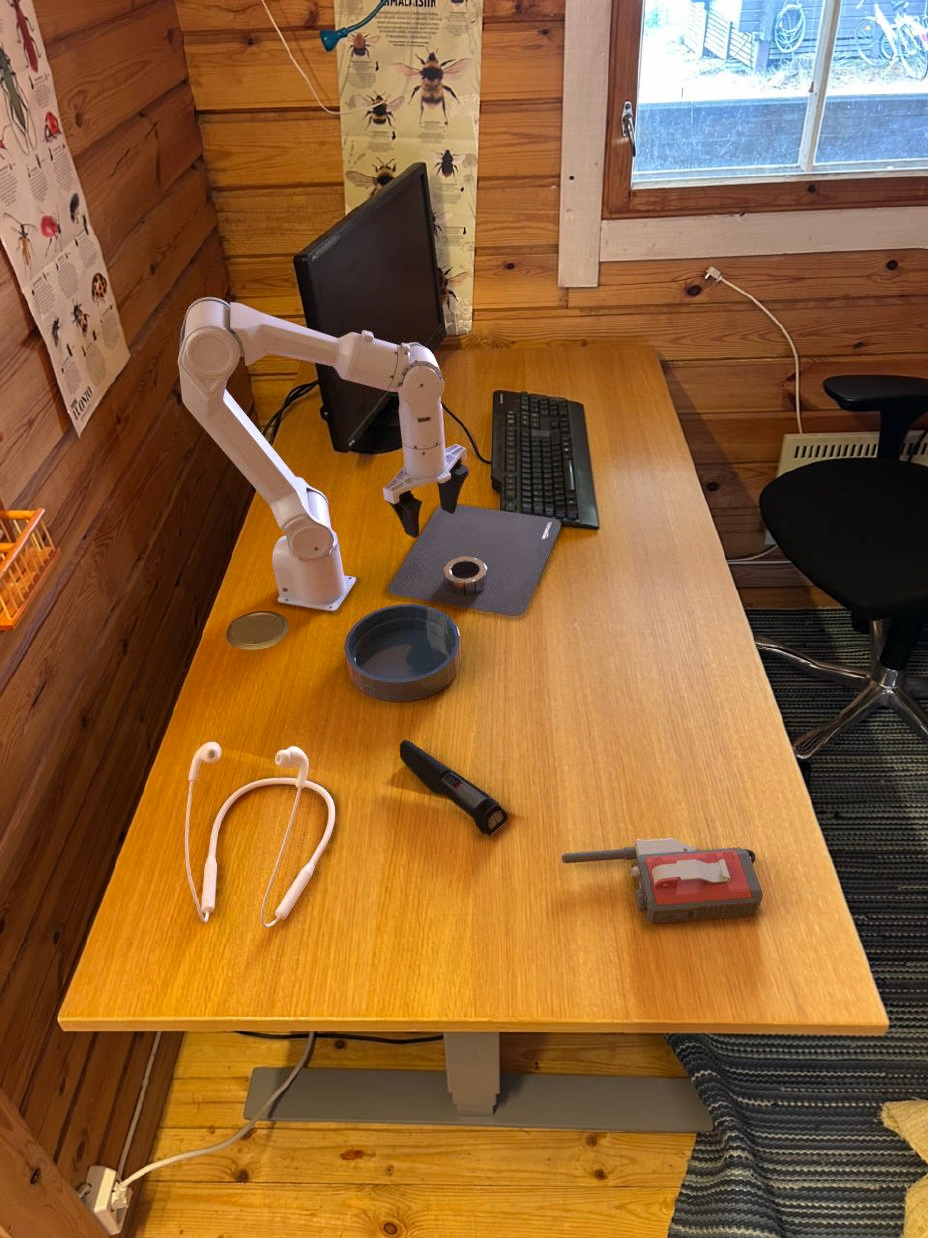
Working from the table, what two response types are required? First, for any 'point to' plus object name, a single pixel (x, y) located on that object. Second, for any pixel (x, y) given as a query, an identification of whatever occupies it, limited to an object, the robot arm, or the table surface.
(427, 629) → the bowl
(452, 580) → the steel ring
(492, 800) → the electric trimmer
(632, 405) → the table surface
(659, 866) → the walkie-talkie
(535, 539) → the mouse pad
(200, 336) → the robot arm
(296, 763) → the earphone
